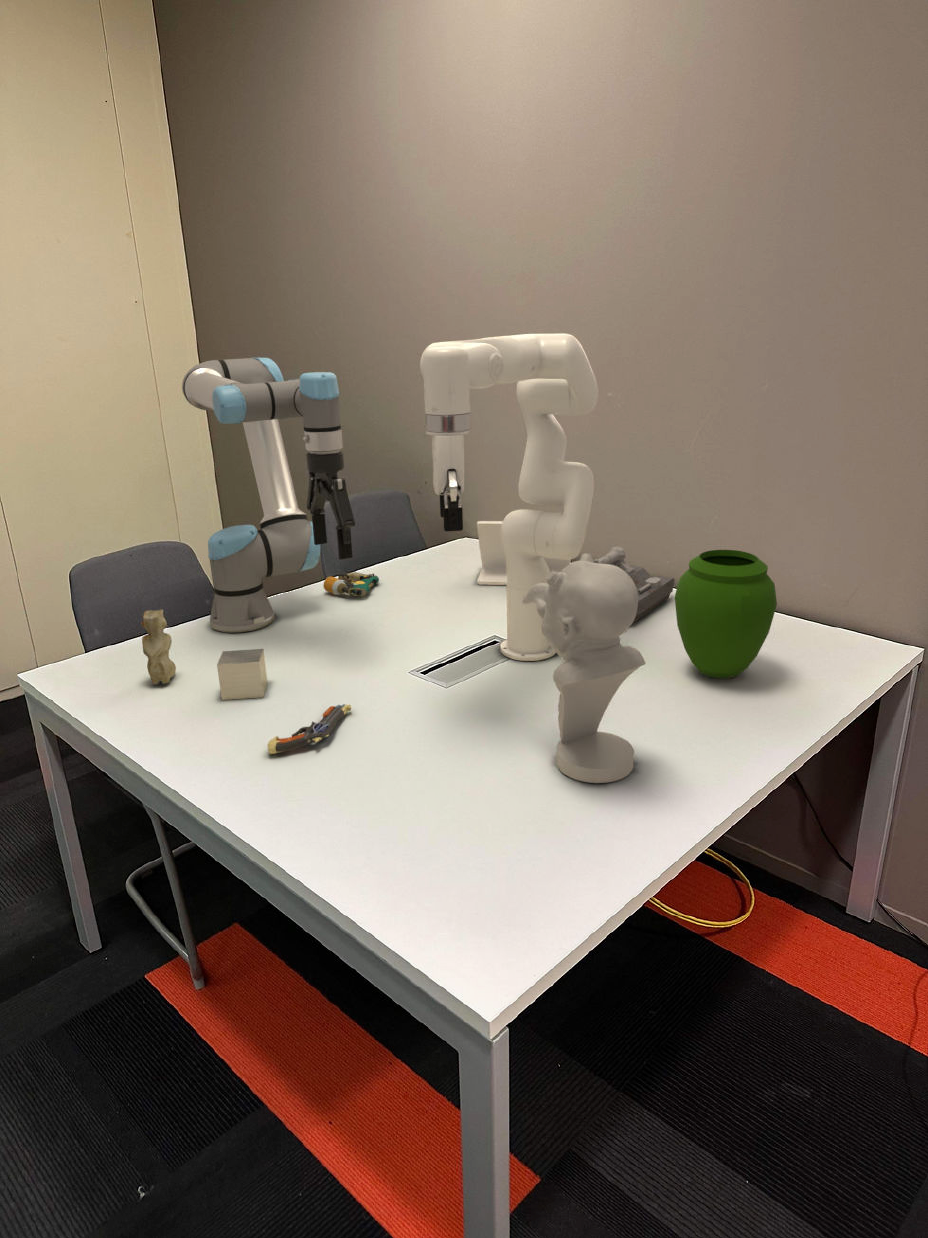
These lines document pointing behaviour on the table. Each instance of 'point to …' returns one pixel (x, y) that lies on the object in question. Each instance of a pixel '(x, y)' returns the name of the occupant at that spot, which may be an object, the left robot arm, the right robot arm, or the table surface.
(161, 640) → the sculpture
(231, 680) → the block
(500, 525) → the tablet stand
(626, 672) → the bust sculpture
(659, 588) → the toy
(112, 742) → the table surface
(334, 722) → the toy gun
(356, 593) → the spray gun
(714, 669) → the vase
